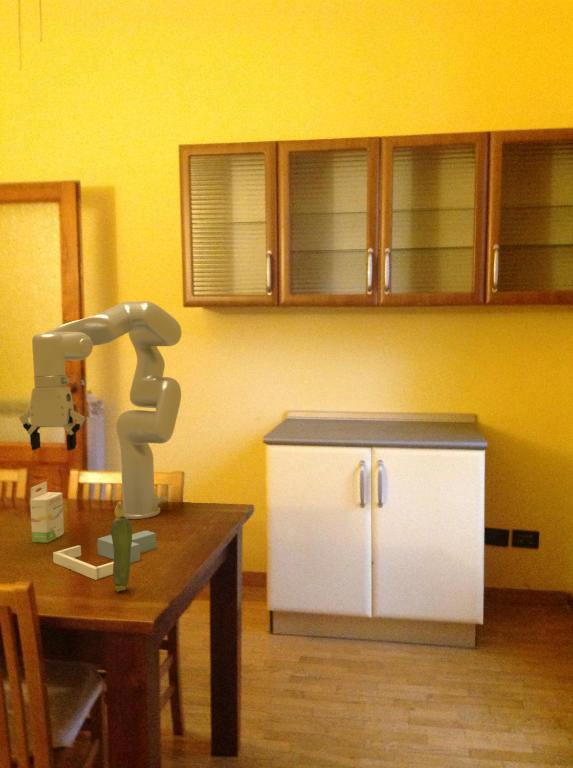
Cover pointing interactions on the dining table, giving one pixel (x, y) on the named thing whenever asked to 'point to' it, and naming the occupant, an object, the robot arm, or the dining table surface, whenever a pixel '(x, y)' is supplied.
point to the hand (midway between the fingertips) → (53, 449)
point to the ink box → (46, 514)
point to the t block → (139, 545)
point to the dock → (81, 563)
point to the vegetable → (121, 548)
